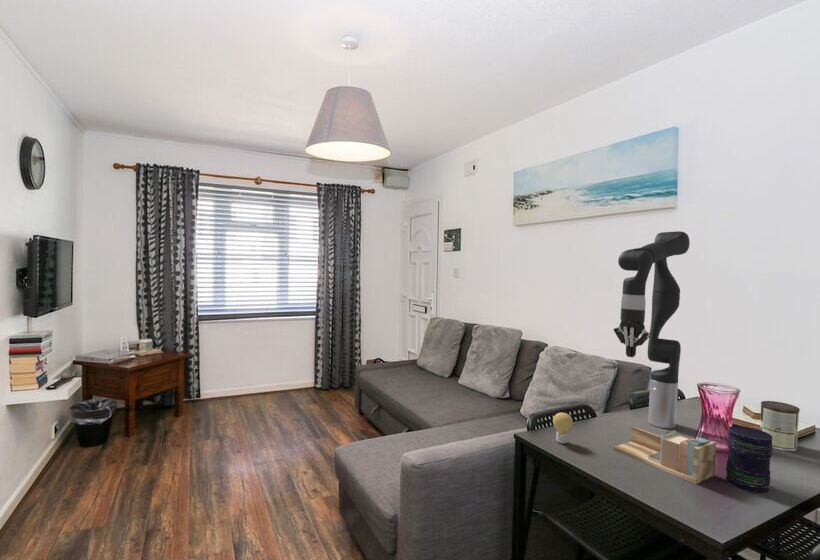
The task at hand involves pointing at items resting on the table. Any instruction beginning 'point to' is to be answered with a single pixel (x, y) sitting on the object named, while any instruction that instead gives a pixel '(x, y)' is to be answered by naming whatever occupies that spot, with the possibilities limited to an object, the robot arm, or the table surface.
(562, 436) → the light bulb
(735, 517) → the table surface
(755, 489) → the storage jar
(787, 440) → the coffee can
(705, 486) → the table surface
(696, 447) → the rack
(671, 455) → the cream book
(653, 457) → the bookend
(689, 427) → the table surface
